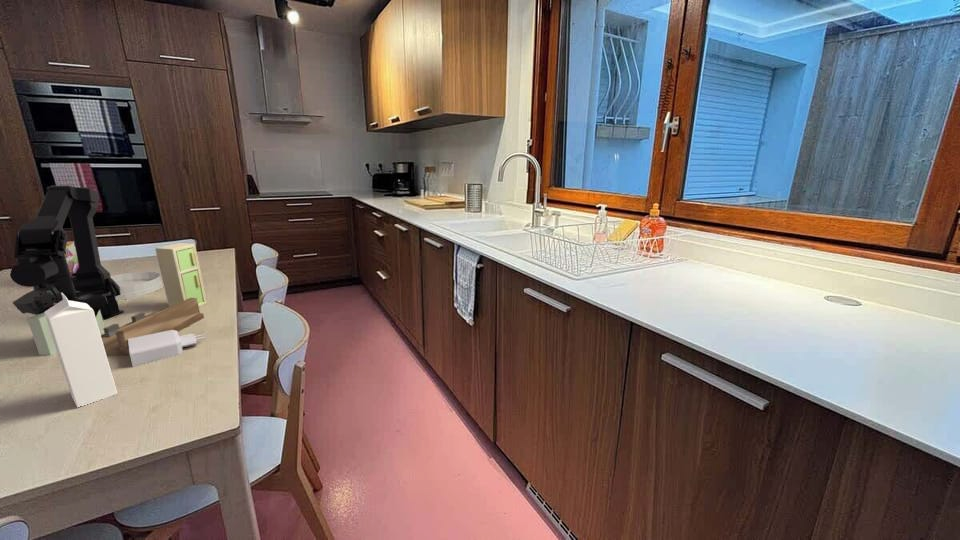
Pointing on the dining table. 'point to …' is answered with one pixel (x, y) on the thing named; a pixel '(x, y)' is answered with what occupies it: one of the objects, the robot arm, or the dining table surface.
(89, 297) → the robot arm
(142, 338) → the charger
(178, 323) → the cabinet base
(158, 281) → the dish
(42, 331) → the door panel
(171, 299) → the toy refrigerator
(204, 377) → the dining table surface
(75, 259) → the candy bar box
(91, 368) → the milk
